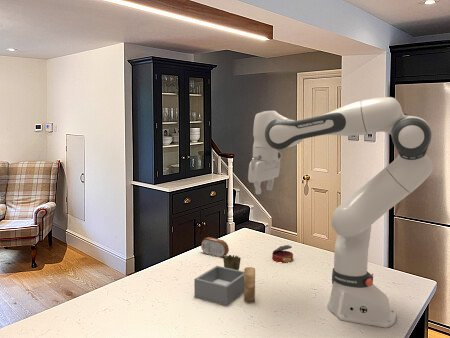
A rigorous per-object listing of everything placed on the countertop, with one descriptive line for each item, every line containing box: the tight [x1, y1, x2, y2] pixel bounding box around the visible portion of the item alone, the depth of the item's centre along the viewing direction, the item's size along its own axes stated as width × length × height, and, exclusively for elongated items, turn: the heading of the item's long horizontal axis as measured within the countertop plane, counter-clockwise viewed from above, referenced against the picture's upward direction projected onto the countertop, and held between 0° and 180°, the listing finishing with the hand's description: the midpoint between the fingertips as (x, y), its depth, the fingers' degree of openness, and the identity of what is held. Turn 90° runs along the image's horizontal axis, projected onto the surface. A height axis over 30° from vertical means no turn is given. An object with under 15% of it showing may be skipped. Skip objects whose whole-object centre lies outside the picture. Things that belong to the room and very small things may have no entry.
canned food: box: [271, 244, 294, 264], centre depth 186 cm, size 11×10×10 cm
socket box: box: [193, 265, 244, 307], centre depth 149 cm, size 14×16×7 cm
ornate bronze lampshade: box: [222, 254, 241, 271], centre depth 166 cm, size 8×7×8 cm
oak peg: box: [243, 266, 256, 304], centre depth 143 cm, size 4×4×12 cm
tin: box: [200, 236, 230, 258], centre depth 192 cm, size 15×3×8 cm, turn 58°
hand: (264, 192), depth 145 cm, fingers open, 8 cm apart
